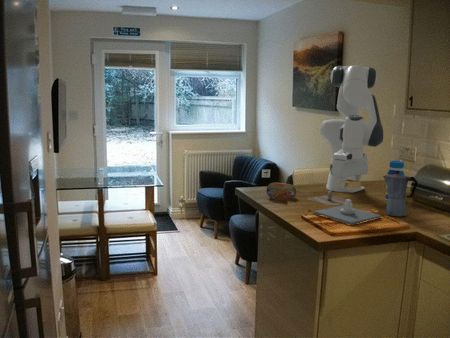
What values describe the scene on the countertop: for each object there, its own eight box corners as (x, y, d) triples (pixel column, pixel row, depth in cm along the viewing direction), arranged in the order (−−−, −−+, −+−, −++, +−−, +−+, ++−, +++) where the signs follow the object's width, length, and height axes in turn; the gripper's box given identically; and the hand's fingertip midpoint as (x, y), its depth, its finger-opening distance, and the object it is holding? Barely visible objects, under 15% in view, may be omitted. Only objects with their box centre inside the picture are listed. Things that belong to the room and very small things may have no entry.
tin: (265, 198, 222) (266, 181, 221) (268, 196, 225) (269, 180, 223) (294, 202, 215) (295, 185, 214) (296, 200, 218) (297, 184, 217)
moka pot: (383, 209, 205) (387, 167, 202) (417, 216, 196) (422, 171, 192) (375, 213, 198) (379, 169, 195) (411, 220, 189) (415, 174, 185)
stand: (327, 197, 226) (328, 186, 225) (353, 204, 213) (354, 192, 212) (305, 201, 216) (306, 189, 215) (331, 209, 204) (332, 196, 203)
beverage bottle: (403, 202, 220) (407, 163, 216) (385, 201, 221) (389, 162, 218) (400, 199, 228) (404, 160, 225) (383, 197, 230) (386, 159, 226)
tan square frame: (347, 185, 194) (348, 178, 194) (360, 187, 189) (361, 181, 188) (338, 186, 190) (338, 179, 190) (350, 189, 185) (351, 182, 184)
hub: (343, 208, 206) (344, 192, 204) (380, 218, 190) (382, 201, 189) (313, 214, 194) (315, 197, 193) (351, 226, 178) (352, 208, 177)
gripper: (360, 152, 196) (358, 182, 198) (330, 154, 184) (328, 187, 186) (373, 153, 191) (370, 185, 193) (342, 156, 179) (340, 189, 181)
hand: (349, 186), depth 189 cm, fingers closed on tan square frame, 7 cm apart
